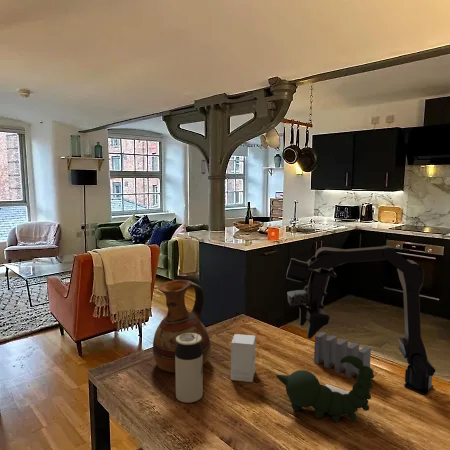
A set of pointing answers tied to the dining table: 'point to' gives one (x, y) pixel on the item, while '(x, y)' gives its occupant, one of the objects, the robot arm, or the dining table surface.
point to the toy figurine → (329, 392)
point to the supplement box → (243, 357)
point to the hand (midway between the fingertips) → (305, 331)
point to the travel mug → (189, 367)
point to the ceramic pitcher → (179, 323)
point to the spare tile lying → (337, 389)
